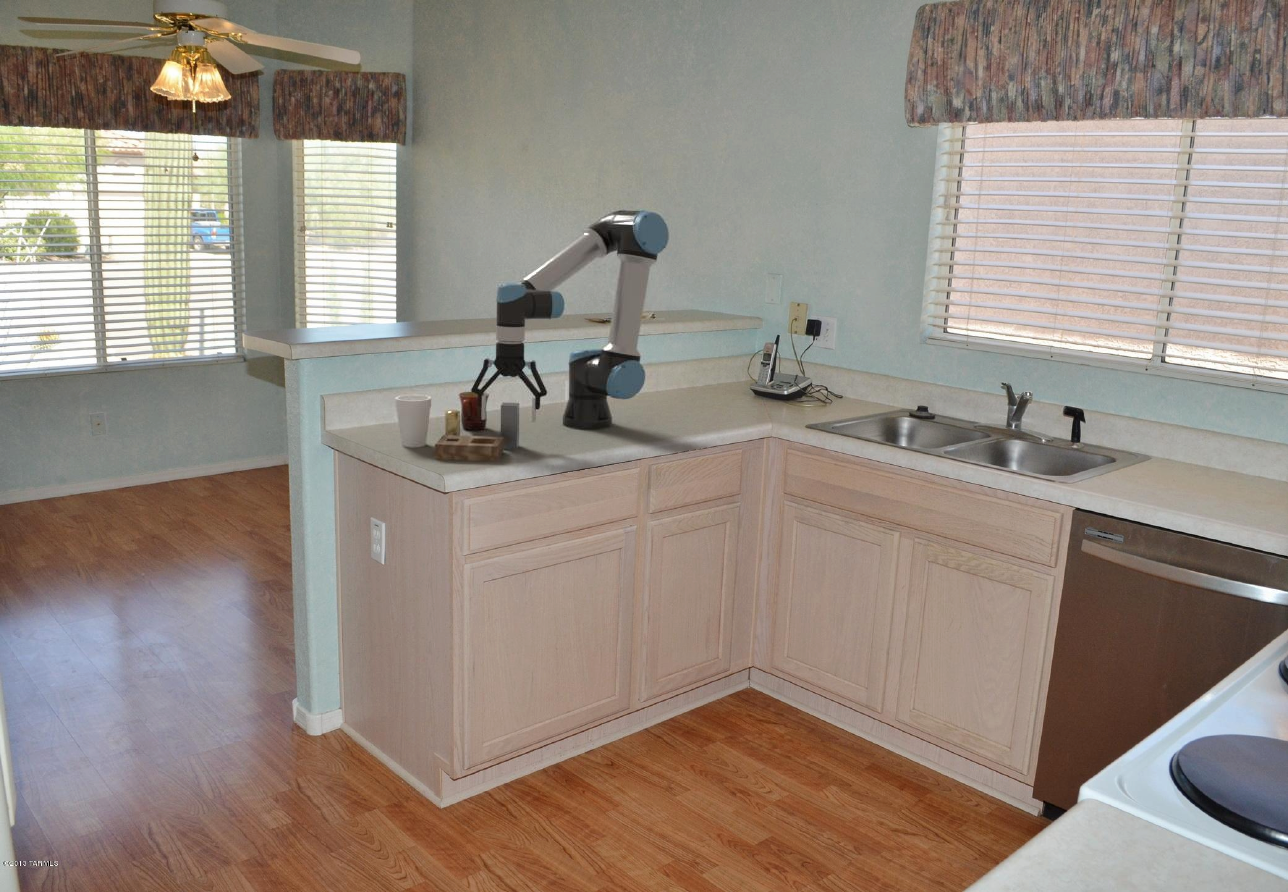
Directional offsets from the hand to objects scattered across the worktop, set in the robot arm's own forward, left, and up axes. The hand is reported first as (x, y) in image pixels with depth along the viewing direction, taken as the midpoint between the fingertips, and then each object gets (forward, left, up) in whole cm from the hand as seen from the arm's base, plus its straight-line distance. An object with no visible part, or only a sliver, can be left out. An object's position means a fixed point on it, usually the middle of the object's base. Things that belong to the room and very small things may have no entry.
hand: (508, 420), depth 281 cm
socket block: (+9, +11, -8) cm, 16 cm away
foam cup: (+26, +1, -8) cm, 27 cm away
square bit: (0, 0, -8) cm, 8 cm away
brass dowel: (+16, -2, -8) cm, 18 cm away
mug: (+14, -21, -8) cm, 27 cm away
